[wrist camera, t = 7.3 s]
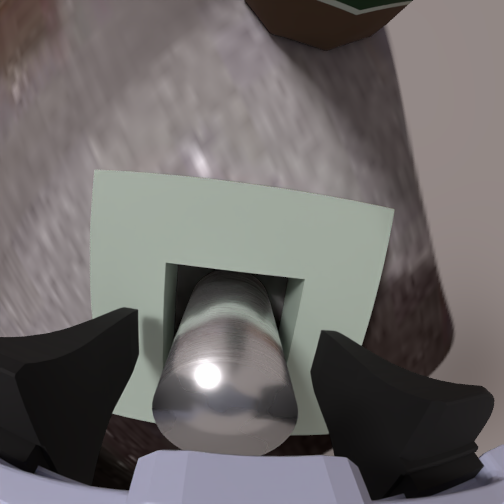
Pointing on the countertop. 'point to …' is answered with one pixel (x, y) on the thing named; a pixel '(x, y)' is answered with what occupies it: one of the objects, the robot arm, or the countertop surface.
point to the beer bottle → (326, 19)
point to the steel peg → (226, 372)
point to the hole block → (233, 265)
